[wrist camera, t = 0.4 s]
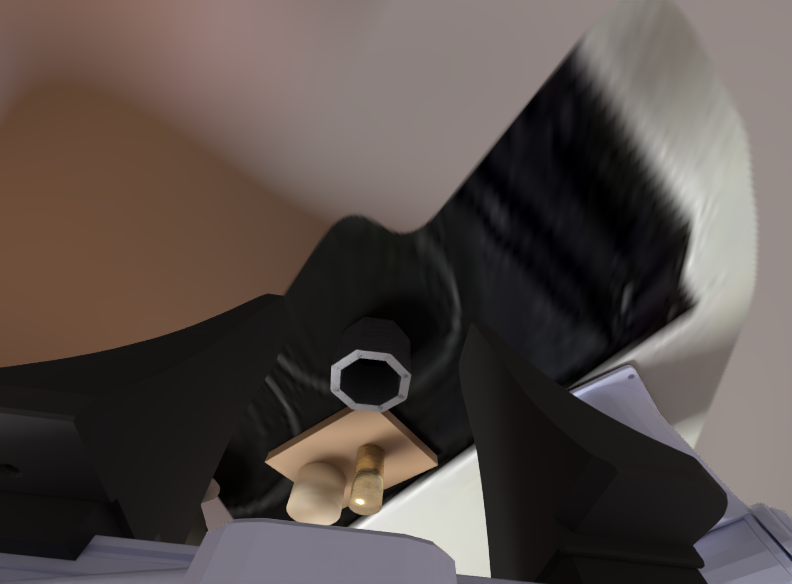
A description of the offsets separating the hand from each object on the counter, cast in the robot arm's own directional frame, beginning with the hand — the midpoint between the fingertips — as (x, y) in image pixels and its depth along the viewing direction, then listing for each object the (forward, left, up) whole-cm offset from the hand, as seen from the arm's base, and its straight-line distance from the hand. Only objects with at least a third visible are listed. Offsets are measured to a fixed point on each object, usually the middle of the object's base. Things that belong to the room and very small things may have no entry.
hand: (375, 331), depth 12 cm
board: (-14, +16, -10) cm, 23 cm away
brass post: (-14, +13, -9) cm, 21 cm away
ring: (-6, +6, -10) cm, 13 cm away
